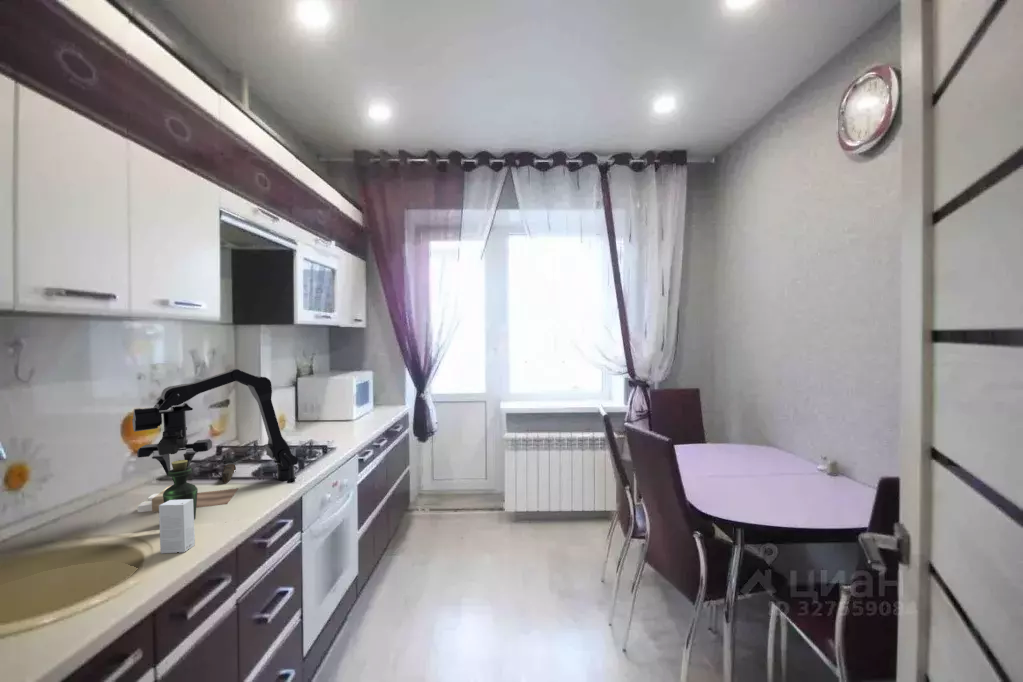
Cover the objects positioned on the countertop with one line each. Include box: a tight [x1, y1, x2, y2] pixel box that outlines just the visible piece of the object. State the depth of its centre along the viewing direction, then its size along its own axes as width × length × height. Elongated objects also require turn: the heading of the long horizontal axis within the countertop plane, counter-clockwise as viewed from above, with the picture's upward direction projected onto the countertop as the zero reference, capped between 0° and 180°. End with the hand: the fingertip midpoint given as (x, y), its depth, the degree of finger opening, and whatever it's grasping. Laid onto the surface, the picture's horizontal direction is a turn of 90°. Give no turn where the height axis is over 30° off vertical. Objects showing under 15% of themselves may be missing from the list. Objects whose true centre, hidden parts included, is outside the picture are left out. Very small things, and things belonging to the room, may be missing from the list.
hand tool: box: [222, 463, 237, 485], centre depth 176 cm, size 19×4×5 cm, turn 24°
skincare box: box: [158, 499, 196, 554], centre depth 118 cm, size 6×4×12 cm
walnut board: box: [196, 488, 239, 509], centre depth 152 cm, size 16×14×1 cm
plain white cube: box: [147, 493, 159, 501], centre depth 151 cm, size 4×4×3 cm
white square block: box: [137, 500, 152, 513], centre depth 143 cm, size 4×4×3 cm
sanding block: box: [151, 484, 173, 513], centre depth 148 cm, size 14×4×5 cm, turn 19°
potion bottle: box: [163, 459, 199, 521], centre depth 133 cm, size 8×8×18 cm
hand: (177, 474), depth 149 cm, fingers open, 4 cm apart
